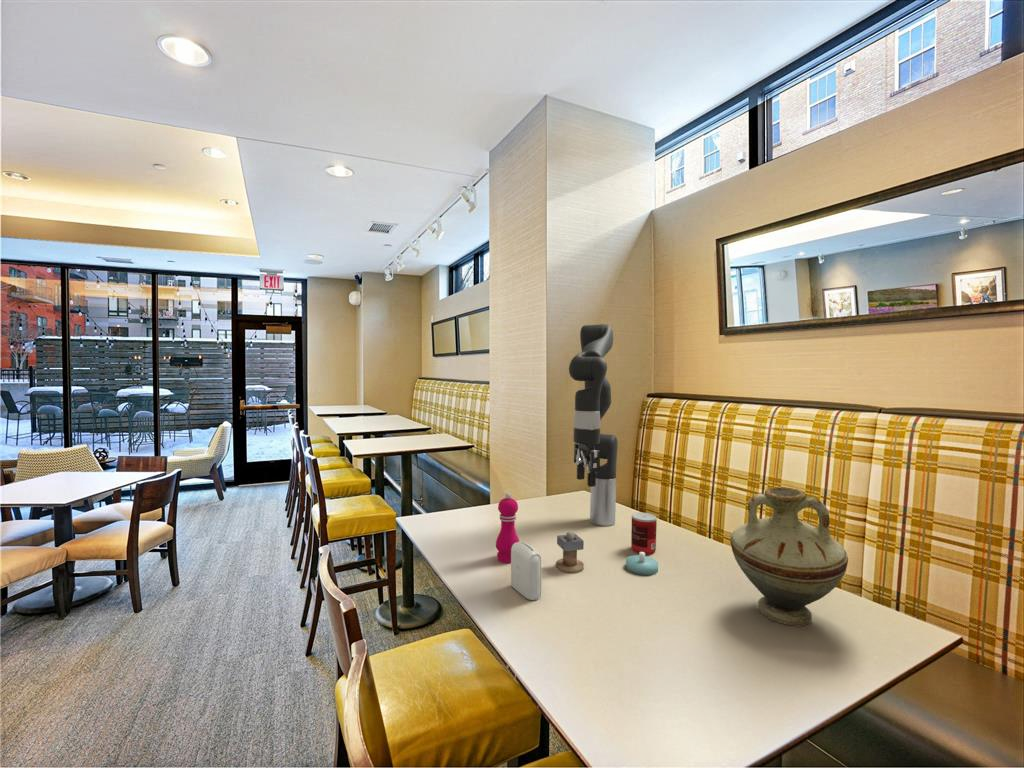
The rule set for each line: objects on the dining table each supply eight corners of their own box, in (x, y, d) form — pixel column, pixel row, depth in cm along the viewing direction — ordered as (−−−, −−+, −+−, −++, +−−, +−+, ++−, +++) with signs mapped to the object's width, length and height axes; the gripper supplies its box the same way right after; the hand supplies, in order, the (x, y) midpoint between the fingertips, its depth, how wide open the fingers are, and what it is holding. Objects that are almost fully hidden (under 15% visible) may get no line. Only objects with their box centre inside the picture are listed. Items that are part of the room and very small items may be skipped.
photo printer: (508, 585, 122) (509, 539, 122) (522, 582, 124) (523, 536, 124) (528, 602, 113) (529, 552, 113) (543, 598, 115) (544, 549, 115)
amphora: (710, 600, 118) (708, 485, 114) (778, 577, 126) (778, 470, 123) (795, 658, 96) (796, 519, 92) (871, 626, 104) (874, 497, 101)
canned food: (653, 546, 151) (653, 512, 151) (658, 555, 143) (659, 520, 143) (629, 544, 152) (629, 511, 152) (633, 554, 144) (633, 519, 144)
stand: (551, 562, 137) (552, 529, 137) (576, 560, 139) (577, 527, 139) (562, 574, 129) (562, 539, 129) (588, 571, 131) (588, 536, 131)
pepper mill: (516, 565, 135) (517, 497, 134) (492, 562, 137) (493, 495, 136) (521, 555, 142) (522, 491, 142) (498, 553, 144) (499, 489, 143)
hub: (620, 563, 137) (620, 548, 137) (646, 560, 140) (647, 545, 139) (636, 576, 128) (636, 560, 128) (664, 573, 131) (664, 557, 131)
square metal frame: (557, 543, 136) (557, 535, 136) (575, 542, 138) (575, 533, 138) (564, 551, 130) (564, 542, 130) (583, 549, 132) (583, 540, 132)
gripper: (566, 423, 138) (565, 477, 139) (583, 429, 125) (582, 489, 125) (589, 423, 140) (588, 476, 140) (609, 429, 126) (608, 488, 127)
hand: (585, 482), depth 133 cm, fingers open, 8 cm apart
